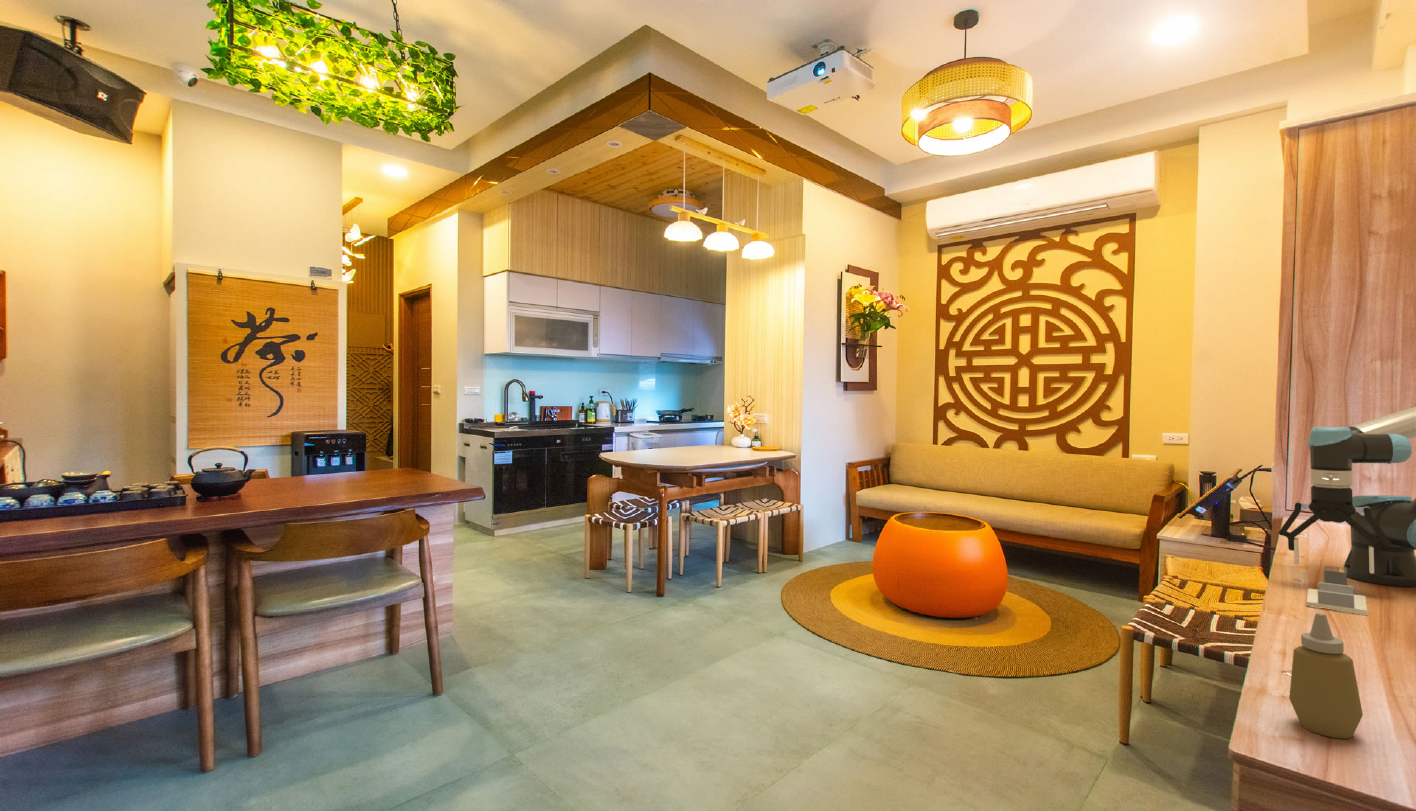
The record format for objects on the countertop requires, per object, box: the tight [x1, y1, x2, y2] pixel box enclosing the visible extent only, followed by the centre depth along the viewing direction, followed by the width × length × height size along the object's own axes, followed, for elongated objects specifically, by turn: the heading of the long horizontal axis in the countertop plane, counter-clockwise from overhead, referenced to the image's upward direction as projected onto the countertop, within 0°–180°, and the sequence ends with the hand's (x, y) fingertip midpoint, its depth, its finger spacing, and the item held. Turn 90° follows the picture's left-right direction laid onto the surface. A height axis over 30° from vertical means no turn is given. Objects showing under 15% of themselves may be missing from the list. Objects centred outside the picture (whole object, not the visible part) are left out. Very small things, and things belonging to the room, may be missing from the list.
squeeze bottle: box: [1288, 612, 1364, 739], centre depth 95 cm, size 8×8×18 cm
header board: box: [1306, 581, 1368, 616], centre depth 149 cm, size 14×10×4 cm
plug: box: [1323, 565, 1348, 585], centre depth 158 cm, size 6×4×6 cm, turn 134°
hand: (1333, 567), depth 158 cm, fingers open, 13 cm apart
